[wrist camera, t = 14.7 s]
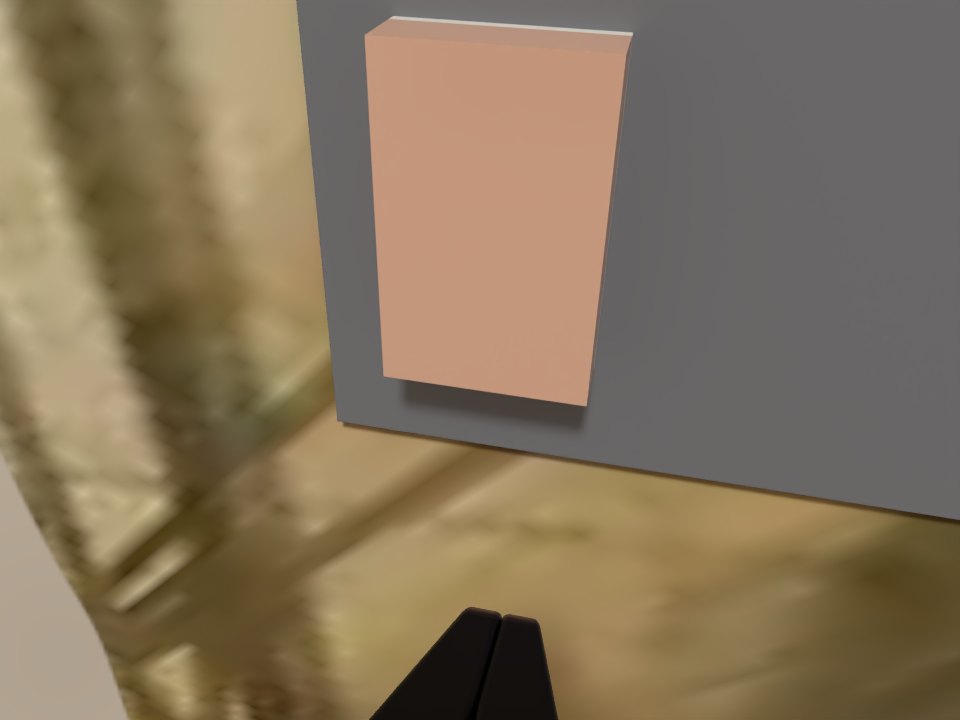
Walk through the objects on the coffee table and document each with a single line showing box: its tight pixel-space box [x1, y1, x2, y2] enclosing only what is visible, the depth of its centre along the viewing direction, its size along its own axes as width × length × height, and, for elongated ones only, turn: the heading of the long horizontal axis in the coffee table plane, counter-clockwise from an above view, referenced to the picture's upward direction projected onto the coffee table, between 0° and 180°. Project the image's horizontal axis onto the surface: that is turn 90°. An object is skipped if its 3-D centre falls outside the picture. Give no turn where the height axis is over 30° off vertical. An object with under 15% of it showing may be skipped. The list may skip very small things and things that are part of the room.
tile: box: [365, 16, 633, 406], centre depth 18 cm, size 2×8×5 cm
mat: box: [296, 0, 960, 520], centre depth 18 cm, size 18×16×1 cm
